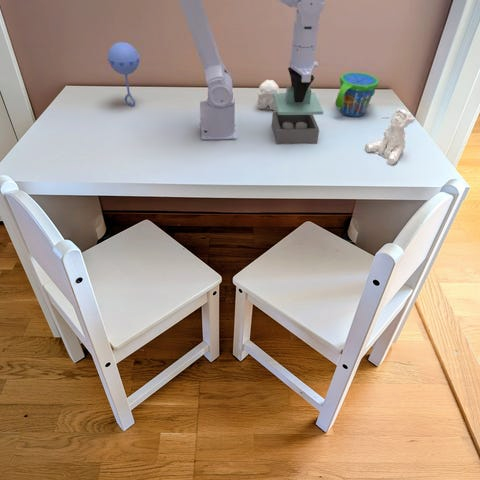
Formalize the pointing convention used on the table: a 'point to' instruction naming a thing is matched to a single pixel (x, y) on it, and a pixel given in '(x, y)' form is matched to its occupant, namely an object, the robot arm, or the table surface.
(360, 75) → the snack cup
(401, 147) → the sitting furry creature
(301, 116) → the storage box
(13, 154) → the table surface
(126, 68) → the baby rattle
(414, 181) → the table surface
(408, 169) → the table surface
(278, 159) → the table surface
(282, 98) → the lid
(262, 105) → the white lumpy piece
